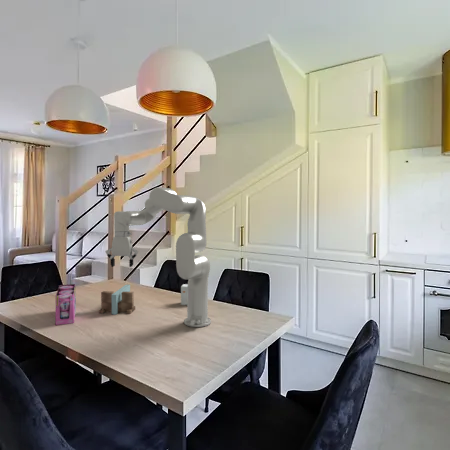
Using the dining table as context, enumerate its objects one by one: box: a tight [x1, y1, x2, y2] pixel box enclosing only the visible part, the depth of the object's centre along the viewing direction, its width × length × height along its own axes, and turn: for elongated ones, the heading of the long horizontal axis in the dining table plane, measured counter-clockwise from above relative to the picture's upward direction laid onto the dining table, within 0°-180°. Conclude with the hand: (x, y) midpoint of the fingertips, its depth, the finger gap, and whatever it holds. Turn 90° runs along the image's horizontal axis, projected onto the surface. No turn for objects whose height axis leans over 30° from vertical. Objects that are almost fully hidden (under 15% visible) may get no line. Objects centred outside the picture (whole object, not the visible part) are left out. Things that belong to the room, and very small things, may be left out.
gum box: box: [55, 283, 77, 326], centre depth 157 cm, size 24×8×14 cm, turn 23°
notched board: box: [111, 284, 131, 315], centre depth 173 cm, size 22×2×10 cm, turn 179°
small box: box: [180, 283, 188, 306], centre depth 181 cm, size 8×6×10 cm
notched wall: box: [98, 290, 136, 315], centre depth 167 cm, size 16×8×10 cm, turn 89°
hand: (122, 266), depth 173 cm, fingers open, 9 cm apart
